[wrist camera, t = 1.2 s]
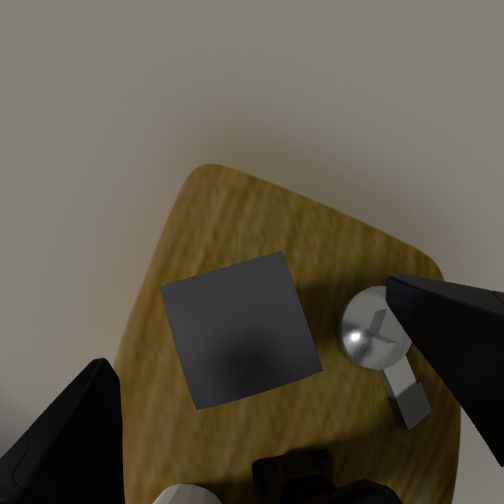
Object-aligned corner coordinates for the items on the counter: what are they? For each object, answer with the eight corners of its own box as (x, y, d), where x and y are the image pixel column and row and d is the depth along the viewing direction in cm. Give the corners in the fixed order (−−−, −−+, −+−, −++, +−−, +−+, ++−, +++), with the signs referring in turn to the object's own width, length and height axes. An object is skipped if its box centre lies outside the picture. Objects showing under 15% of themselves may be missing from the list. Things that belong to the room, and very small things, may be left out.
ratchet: (322, 312, 22) (336, 307, 18) (384, 276, 23) (405, 265, 19) (382, 439, 18) (401, 451, 15) (436, 396, 19) (459, 400, 16)
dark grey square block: (282, 356, 21) (323, 370, 10) (218, 376, 20) (196, 409, 9) (262, 294, 22) (281, 250, 12) (198, 313, 21) (159, 286, 11)
